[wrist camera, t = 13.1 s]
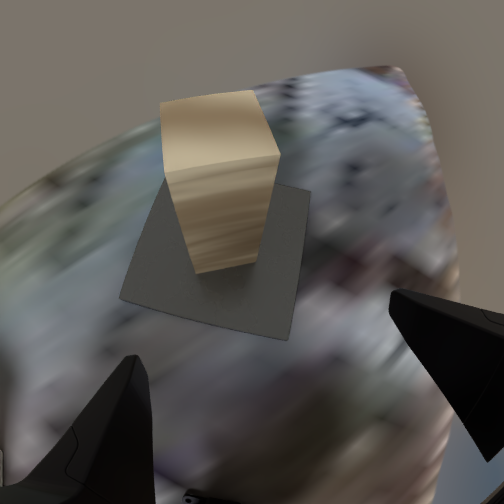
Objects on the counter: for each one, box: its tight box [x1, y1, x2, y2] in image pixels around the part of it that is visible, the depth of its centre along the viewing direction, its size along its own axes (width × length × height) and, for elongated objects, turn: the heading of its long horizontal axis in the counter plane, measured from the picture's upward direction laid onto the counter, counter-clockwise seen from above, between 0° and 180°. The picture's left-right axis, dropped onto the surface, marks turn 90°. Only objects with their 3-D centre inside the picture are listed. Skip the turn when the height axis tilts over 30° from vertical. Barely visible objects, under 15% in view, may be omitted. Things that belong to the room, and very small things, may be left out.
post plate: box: [119, 176, 310, 341], centre depth 23 cm, size 14×14×4 cm
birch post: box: [160, 90, 281, 274], centre depth 19 cm, size 5×5×13 cm
